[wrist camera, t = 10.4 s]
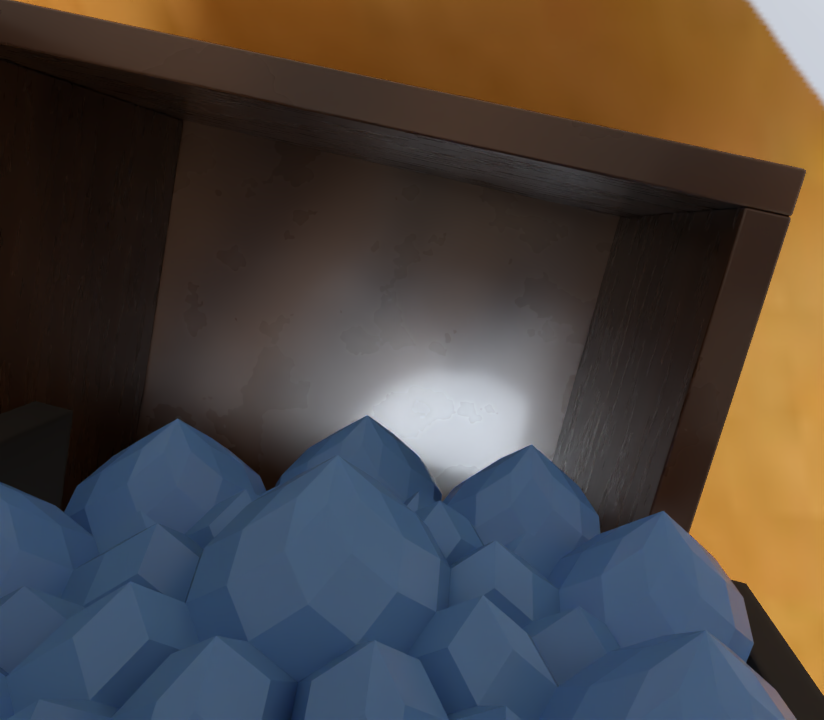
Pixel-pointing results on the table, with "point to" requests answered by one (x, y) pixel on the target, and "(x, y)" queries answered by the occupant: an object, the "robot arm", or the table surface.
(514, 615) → the grapes
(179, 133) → the chest
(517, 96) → the table surface
